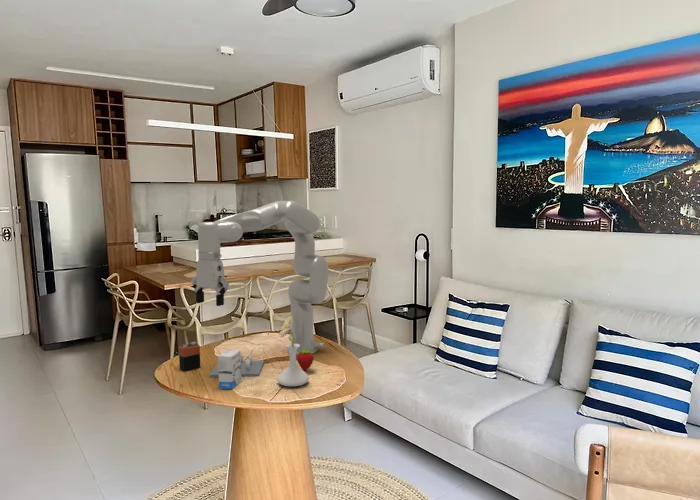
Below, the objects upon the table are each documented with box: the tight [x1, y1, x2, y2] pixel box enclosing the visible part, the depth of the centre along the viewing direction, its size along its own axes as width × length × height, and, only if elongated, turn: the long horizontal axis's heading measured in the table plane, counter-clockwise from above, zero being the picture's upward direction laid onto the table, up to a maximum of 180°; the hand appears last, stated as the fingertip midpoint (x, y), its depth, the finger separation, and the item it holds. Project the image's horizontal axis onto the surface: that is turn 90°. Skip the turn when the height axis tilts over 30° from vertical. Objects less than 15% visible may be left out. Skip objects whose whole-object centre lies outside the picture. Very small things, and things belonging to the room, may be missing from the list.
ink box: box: [217, 348, 242, 390], centre depth 169 cm, size 9×5×12 cm, turn 168°
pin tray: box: [209, 352, 265, 379], centre depth 185 cm, size 18×16×4 cm
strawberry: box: [296, 347, 314, 373], centre depth 183 cm, size 6×8×10 cm
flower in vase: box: [276, 315, 310, 387], centre depth 169 cm, size 13×11×25 cm
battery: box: [178, 341, 201, 372], centre depth 187 cm, size 4×7×10 cm, turn 135°
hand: (210, 304), depth 173 cm, fingers open, 9 cm apart
